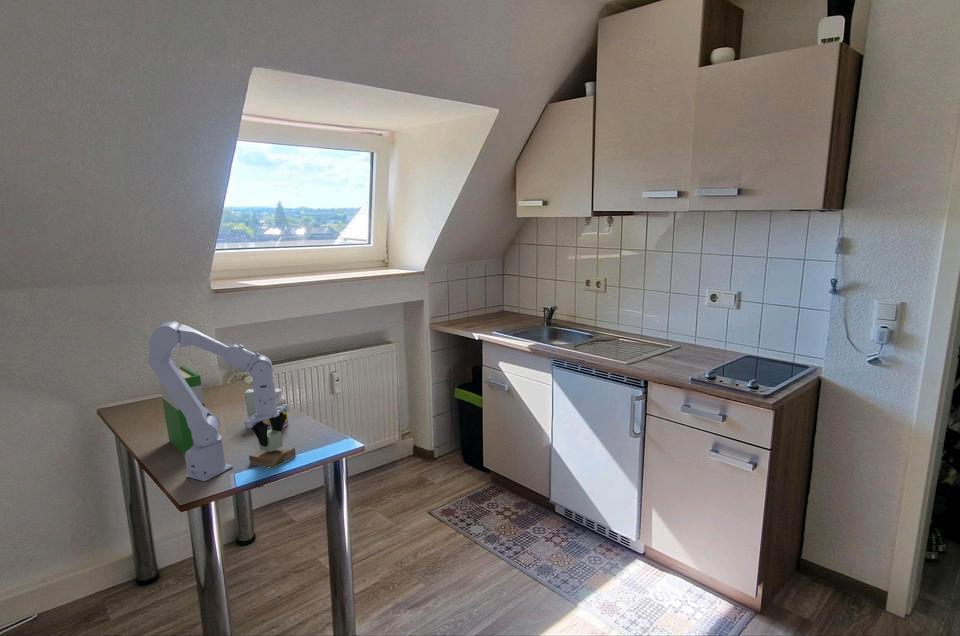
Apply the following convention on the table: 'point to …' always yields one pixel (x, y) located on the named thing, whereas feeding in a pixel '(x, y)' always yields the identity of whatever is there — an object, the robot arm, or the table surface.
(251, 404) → the skincare box
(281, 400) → the supplement bottle
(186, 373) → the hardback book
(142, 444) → the table surface
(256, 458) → the walnut block
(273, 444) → the sage cube
